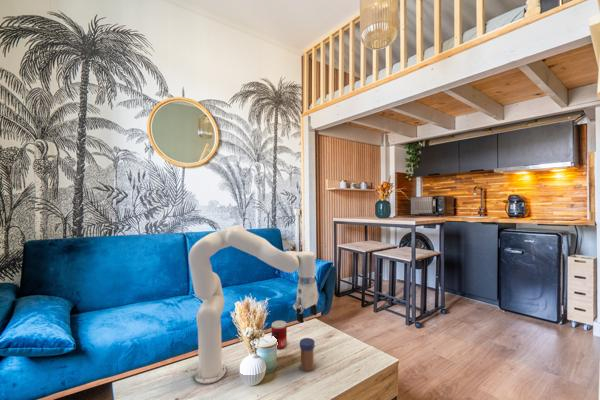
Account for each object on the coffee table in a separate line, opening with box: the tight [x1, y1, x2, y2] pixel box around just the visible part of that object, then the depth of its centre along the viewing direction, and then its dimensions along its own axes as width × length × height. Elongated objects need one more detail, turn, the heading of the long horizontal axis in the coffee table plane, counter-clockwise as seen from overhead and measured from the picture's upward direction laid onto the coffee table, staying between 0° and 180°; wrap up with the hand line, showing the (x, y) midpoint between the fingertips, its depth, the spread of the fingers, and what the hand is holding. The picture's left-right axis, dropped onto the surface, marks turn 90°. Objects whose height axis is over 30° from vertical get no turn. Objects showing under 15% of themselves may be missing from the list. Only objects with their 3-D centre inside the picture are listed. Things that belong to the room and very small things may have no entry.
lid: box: [299, 337, 316, 351], centre depth 124 cm, size 7×7×2 cm
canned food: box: [271, 320, 288, 350], centre depth 142 cm, size 8×8×11 cm
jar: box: [300, 348, 315, 372], centre depth 124 cm, size 6×6×11 cm
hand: (307, 318), depth 123 cm, fingers open, 9 cm apart
